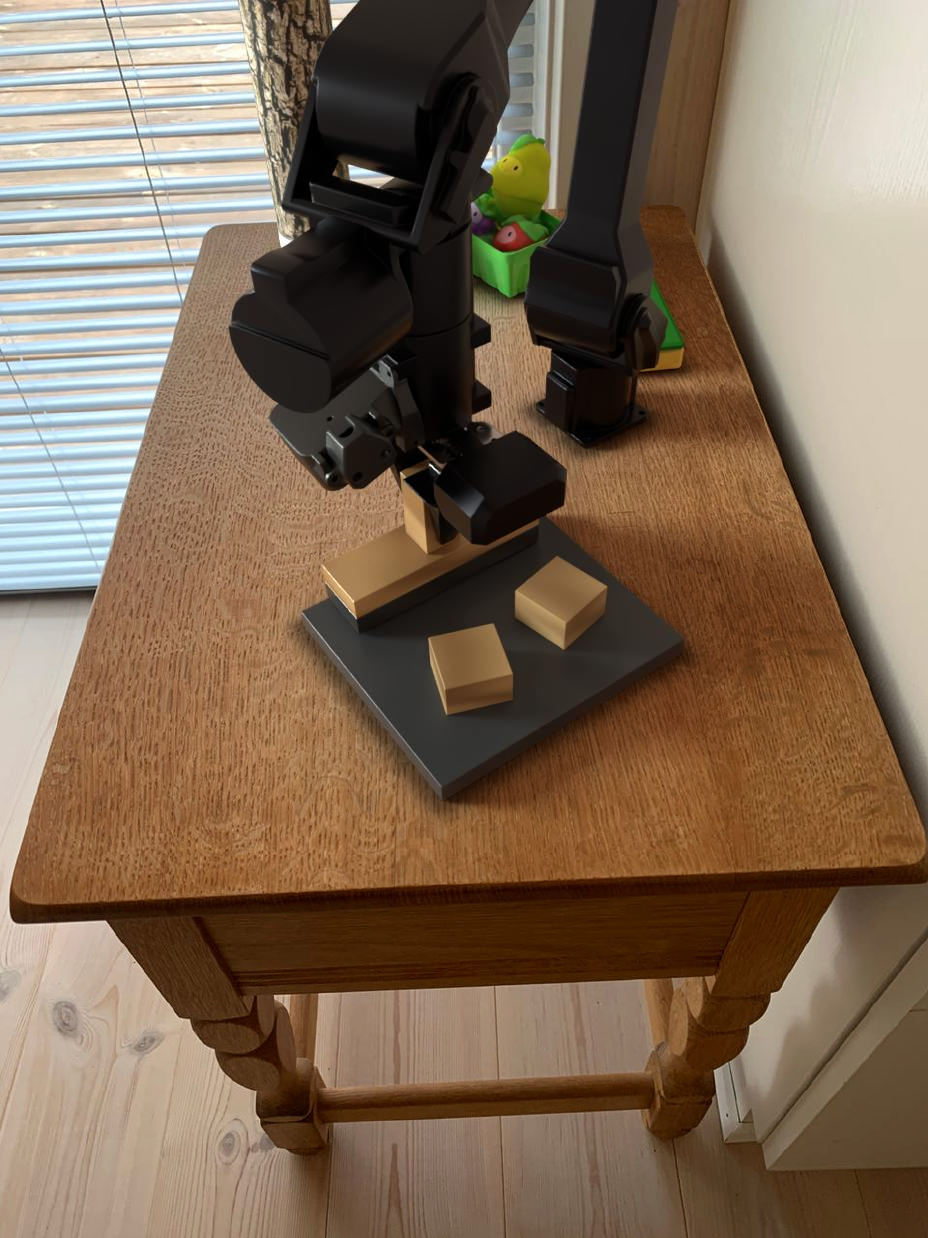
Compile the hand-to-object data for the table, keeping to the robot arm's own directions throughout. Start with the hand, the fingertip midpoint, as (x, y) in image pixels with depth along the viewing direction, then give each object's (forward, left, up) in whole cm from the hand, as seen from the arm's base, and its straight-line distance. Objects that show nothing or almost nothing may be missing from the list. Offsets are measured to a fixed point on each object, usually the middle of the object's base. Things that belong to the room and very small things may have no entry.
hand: (433, 528), depth 62 cm
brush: (0, 0, -4) cm, 4 cm away
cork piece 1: (+4, +9, -4) cm, 10 cm away
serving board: (0, +6, -5) cm, 8 cm away
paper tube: (-13, -38, -5) cm, 40 cm away
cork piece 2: (-4, +8, -4) cm, 10 cm away
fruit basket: (-28, -30, -5) cm, 41 cm away
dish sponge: (-30, -16, -5) cm, 34 cm away
